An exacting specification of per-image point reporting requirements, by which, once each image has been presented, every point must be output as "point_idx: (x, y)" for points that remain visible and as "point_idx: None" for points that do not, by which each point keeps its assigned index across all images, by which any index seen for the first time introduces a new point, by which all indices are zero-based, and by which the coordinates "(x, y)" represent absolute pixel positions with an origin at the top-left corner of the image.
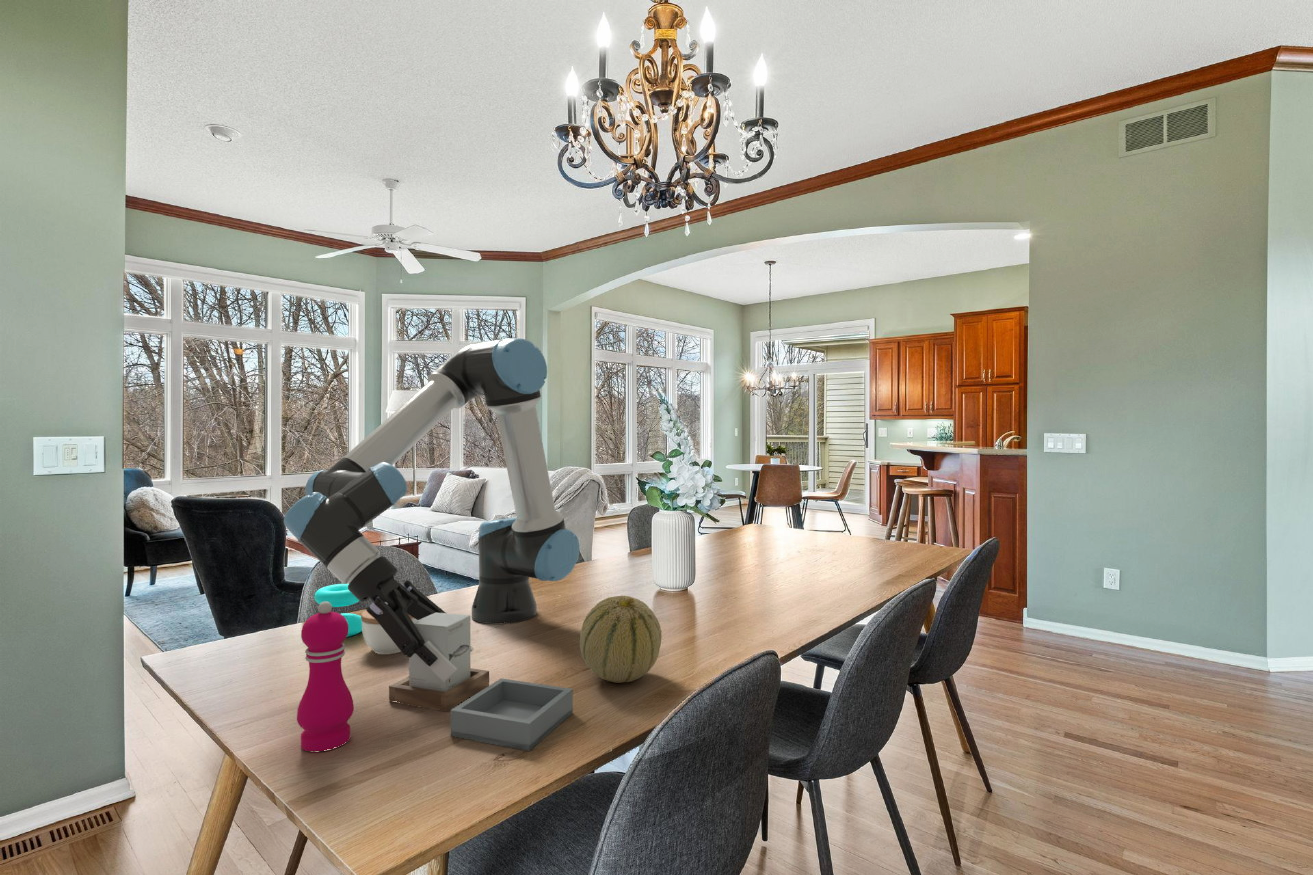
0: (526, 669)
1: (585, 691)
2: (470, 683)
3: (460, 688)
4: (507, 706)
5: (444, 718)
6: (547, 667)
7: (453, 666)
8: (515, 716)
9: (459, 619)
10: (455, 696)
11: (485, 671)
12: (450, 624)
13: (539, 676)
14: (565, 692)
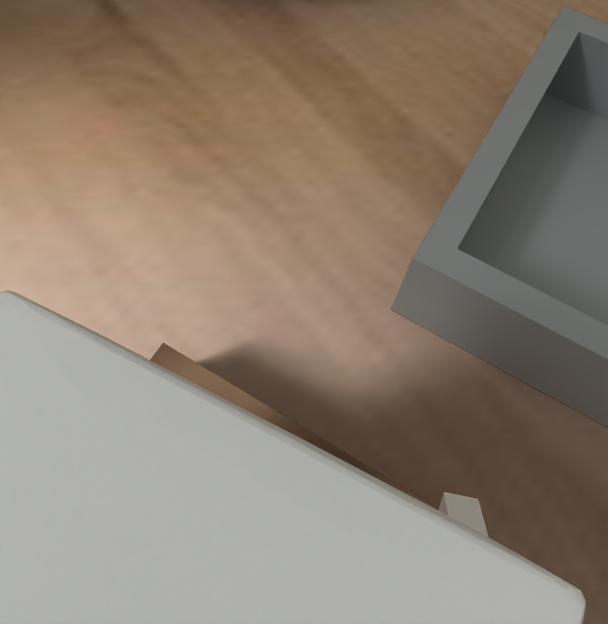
0: (21, 209)
1: (337, 35)
2: (318, 437)
3: (401, 487)
4: (506, 273)
5: (562, 560)
6: (33, 130)
7: (463, 517)
8: (605, 244)
9: (201, 425)
10: None
11: (166, 362)
12: (463, 545)
13: (133, 163)
14: (601, 28)
